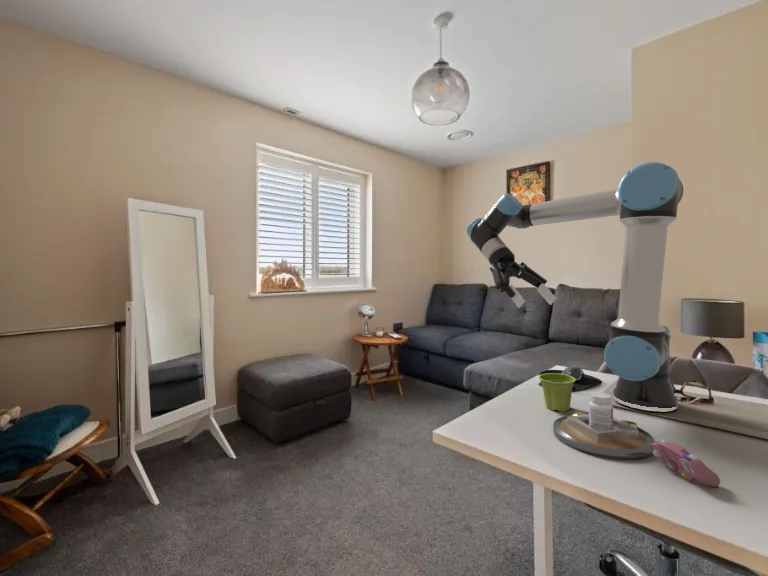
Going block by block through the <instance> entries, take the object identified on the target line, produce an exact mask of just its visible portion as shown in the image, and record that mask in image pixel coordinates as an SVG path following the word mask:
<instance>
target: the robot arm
mask: <svg viewBox="0 0 768 576" xmlns="http://www.w3.org/2000/svg"><path fill="white" fill-rule="evenodd" d="M683 195H684V185H683V183H682V181H681V179H680V178H679V174H678V173H677V171H676V170H675V168H673V167H671V166H670V165H667V164H666V163H662V162H657V161H652V162H651V161H649V162H643V163H641V164H638V165H636V166H634V167H632V168H631V169H629V170H628V171H627V172H626V173H625V174H624V175H623V177H621V179H620V181H619V183H618V186H617V188H616V189H612V190H607V191H606V190H605V191H600V192H593V193H588V194H587V193H586V194H583V195H575V196H570V197H566V198H558V199H552V200H548V201H547V200H546V201H542V202H541V201H540V202H534V203H530V204H523V203H522V202H521V201H520V200H519V199H517V197H515V196H513V195H512V194H510V193H503V195H501V197H500V198H498V199H497V200H496V202H495V203H494V204H493V206H492V207H491V208H490V210H489V211H487V213H486V214H485V216H484V217H483V218H479V217H478V218H475V219H473V221H470V223H468V225H467V227H466V234H467V235H468V237H469V239H470V241H471V242H472V243H473V244H474V245H475V246H476V247H477V249H478V250H479V251H480V253H481V254H482V255H483V256H484V257H485V259H486V261H488V262H489V264H490V267H489V270H490V272H491V273H492V277H493V281H494V285H495V288H496V289H497V290H499V292H501V293H506V294H507V296H508V297H509V298H510V299H511V300H512V302H513V303H514V304H515V306H516V307H517V308H518V309H520V308H521V307H522V306H523V305H524V304H525V303H526V299H524V297H523V296H522V295H521V294H520V292H519V291H518V290H517V289H516V287H515V286H514V285H513V284H510V283H511V282H510V278H512V277H513V278H517V279H519V280H520V279H521V280H523V281H524V282H526V283H528V284H530V285H532V286H533V287H535V288H536V291H537V292H538V293H539V294H540V295H541V296H542V298H543V299H544V300H545V301H546V302H547V303H548V305H549V306H553V304H554V303H555V302H556V300H557V297H556V296H555V294H553V292H552V291H551V290H550V289H549V288H548V287H547V286H546V283H548V280H547V279H546V278H544V277H543V276H541V275H540V274H539V273H537V272H536V271H535V270H533V269H532V268H531V267H529V266H528V265H527V264H526V263H525V262H523V261H521V263H520V264H519V263H517V262H516V260H515V258H516V257H515V256H516V255H515V254H514V253H513V252H512V250H511V249H510V248H509V247H508V246H507V244H506V243H505V242H504V241H503V240H502V239H501V238H500V237H499V235H500V234H501V233H502V232H503V231H504V229H505V228H506V227H510V228H511V227H512V228H517V229H519V230H520V229H527V228H530V227H534V226H542V225H549V224H559V223H566V222H574V221H582V220H583V221H584V220H590V219H591V220H592V219H599V218H607V217H616V216H619V222H620V223H621V224H622V225H623V226H624V227H625V233H624V246H623V255H622V256H623V257H622V268H621V269H622V270H621V277H620V278H621V279H620V292H619V300H618V301H619V303H618V313H617V318H616V319H614V320H613V321H612V322H611V323H610V327H609V339H608V340H609V341H608V342H607V343H606V345H605V348H604V351H603V352H604V353H603V358H604V362H605V364H606V366H607V367H608V369H609V370H610V371H611V372H612V373H613V374H615V375H616V376H617V377H618V379H617V382H616V385H615V388H614V389H613V391H612V396H613V395H614V396H615V397H616V398H618V399H620V400H622V401H624V402H628V403H631V404H637V405H640V406H646V407H658V408H672V407H676V406H677V405H678V406H679V401H678V398H677V396H675V391H674V388H673V385H672V383H671V380H670V379H671V377H670V371H671V370H670V366H671V365H670V363H671V362H670V359H671V358H670V357H671V356H670V351H671V350H670V339H671V335H670V329H669V327H668V326H666V325H661V324H660V322H659V320H660V312H661V311H660V309H661V300H662V289H663V288H662V287H663V279H664V278H663V277H664V269H665V268H664V267H665V257H666V249H667V248H666V246H667V237H668V227H669V226H670V225H671V224H672V223H673V222H675V221H676V220H677V217H678V216H677V214H678V206H679V204H680V202H681V201H682V198H683Z"/></svg>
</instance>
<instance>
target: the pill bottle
mask: <svg viewBox="0 0 768 576" xmlns="http://www.w3.org/2000/svg"><path fill="white" fill-rule="evenodd" d="M588 414H589V426H591V427H593V428H594V429H596V430H598V431H602V430H612V429H613V418H614V406H613V405H612V396H611V395H610V394H609V393H605V392H598V391H597V392H591V393H590V401H589V403H588Z"/></svg>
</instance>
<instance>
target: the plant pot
mask: <svg viewBox="0 0 768 576" xmlns="http://www.w3.org/2000/svg"><path fill="white" fill-rule="evenodd" d="M538 380H540V384H541V386H542V391H543V397H544V404H545V407H546V408H547V409H548V410H550V411H558V412H568V411H569V410H570V408H571V399H572V393H573V387H574V384H575V382H576V378H575V377H574V376H572V375H569V374H563V373H553V372H552V373H550V372H549V373H543V374H539V375H538Z"/></svg>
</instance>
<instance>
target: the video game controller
mask: <svg viewBox="0 0 768 576" xmlns="http://www.w3.org/2000/svg"><path fill="white" fill-rule="evenodd" d="M650 448H651V450H652V451H653V456H655V457H656V458H658V459H660V460H661V461H662V463H663V464H664V465H665V467H667V469H669V470H670V471H671V472H676V471H678V473H680V475H681V476H682V477H683V478H684V479H685V480H687V481H689V482H692V481H693V480H694V479H697V480H698V481H700V482H701V483H702V484H705V485H706V486H708V487H712V488H717V487H719V486H720V484H721V480H720V477H719V475H718V474H717V473H716V472H714V471H712V469H710V468H709V467H708V466H707V465H706V464H705V462H703V460H701V459H700V458H698V457H697V456H696V455H695V454H693V453H691V452H689V451H688V450H687V449H686V448H684V447H683V445H680V444H677V443H674V442H668V441H666V439H661V440H655V442H654V443H652V444H651V445H650Z"/></svg>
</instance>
